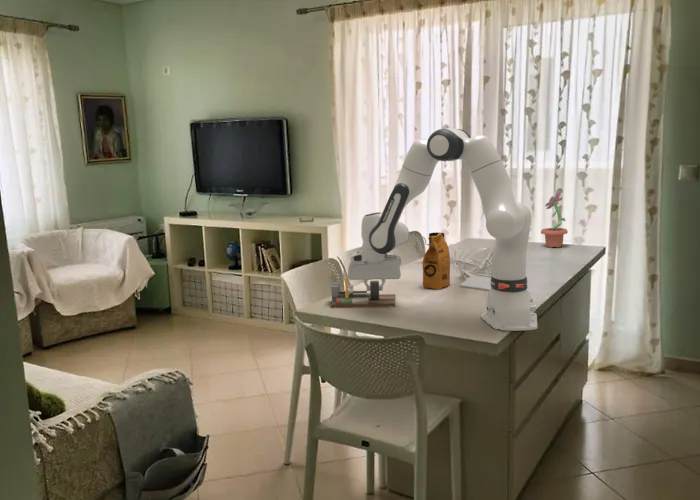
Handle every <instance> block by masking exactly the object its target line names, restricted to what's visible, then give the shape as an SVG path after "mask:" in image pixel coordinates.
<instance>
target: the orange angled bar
mask: <svg viewBox="0 0 700 500" xmlns="http://www.w3.org/2000/svg"><path fill="white" fill-rule="evenodd" d="M344 285H345V287H344V288H345V290H344V291H345V297H346V298H348V297H349V283H348V277H345V278H344Z"/></svg>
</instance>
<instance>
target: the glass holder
mask: <svg viewBox="0 0 700 500" xmlns="http://www.w3.org/2000/svg"><path fill="white" fill-rule="evenodd" d="M438 233H439V232H430V233H428V238H429V237H430V236H437V235H438ZM441 233H442V236H443V237H444V239H445V240H446V238H445V233H444V232H441ZM420 238H423V240H424V244H425V245H426V246H429V245H430V243H431V240H429V239H428V243H427V240H426V238H425V236H418V237H417V239H416V241H418V240H419V239H420ZM418 243H419V242H416V246H417V248H418V251H419V252H420V253H422V254H423V256H424V255H425V253H424V252H422V250H421V249H420V247H419V244H418Z"/></svg>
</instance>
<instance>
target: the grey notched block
mask: <svg viewBox="0 0 700 500" xmlns="http://www.w3.org/2000/svg"><path fill="white" fill-rule="evenodd" d="M369 285H370V291H369V292H367V293H354V291H355V290H354V284H350V285H349V287H348V289H349V294H366V297H369V299H379V294H380V291H379V285H380V280H370V282H369Z"/></svg>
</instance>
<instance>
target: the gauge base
mask: <svg viewBox="0 0 700 500" xmlns="http://www.w3.org/2000/svg"><path fill="white" fill-rule="evenodd" d="M340 283H341V282H338V281H337V282H333V283H332V285H331V287H330V288H331V304H330V308H332V309H333V308H334V309H335V307H336V308H337V309H339V308H395V307H396V293H391V294H389V293H388V294H386V293H385V294H384V293H383V294H380V293H379V299H369V297H366V294H349V297H348V298H346V297H345V291H346V290H341V287H340V286H341V285H340ZM353 291H354V293H368V292H367V290H353Z"/></svg>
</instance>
